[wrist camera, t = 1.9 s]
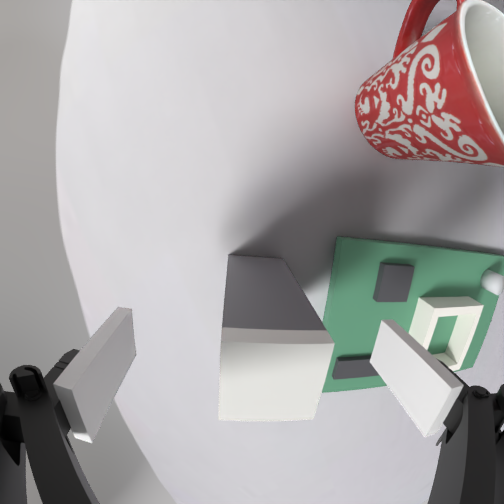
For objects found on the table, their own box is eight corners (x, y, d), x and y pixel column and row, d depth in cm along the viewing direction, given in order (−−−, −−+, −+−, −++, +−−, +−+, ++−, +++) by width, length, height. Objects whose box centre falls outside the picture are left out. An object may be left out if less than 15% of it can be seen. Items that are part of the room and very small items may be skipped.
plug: (228, 254, 21) (220, 341, 9) (282, 258, 21) (334, 343, 10) (225, 304, 22) (218, 420, 10) (276, 307, 22) (313, 419, 10)
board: (336, 236, 21) (356, 246, 17) (501, 254, 23) (523, 263, 19) (308, 385, 24) (317, 411, 21) (467, 362, 26) (483, 377, 22)
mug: (436, 175, 20) (564, 186, 7) (347, 168, 20) (483, 160, 7) (421, 48, 17) (517, -3, 4) (333, 26, 17) (408, -72, 4)
